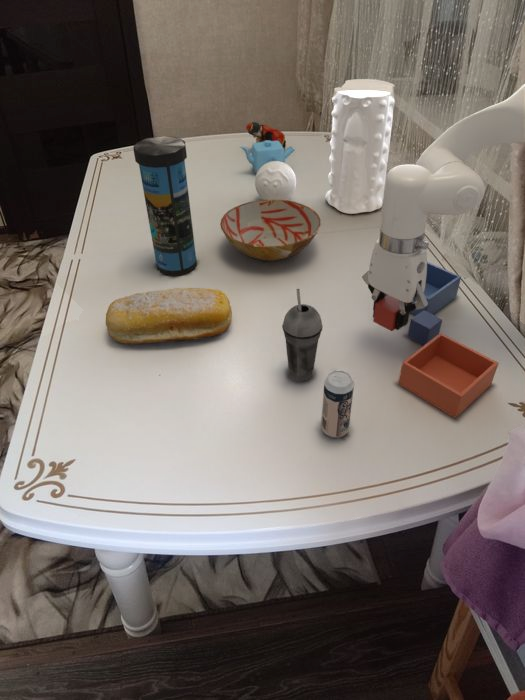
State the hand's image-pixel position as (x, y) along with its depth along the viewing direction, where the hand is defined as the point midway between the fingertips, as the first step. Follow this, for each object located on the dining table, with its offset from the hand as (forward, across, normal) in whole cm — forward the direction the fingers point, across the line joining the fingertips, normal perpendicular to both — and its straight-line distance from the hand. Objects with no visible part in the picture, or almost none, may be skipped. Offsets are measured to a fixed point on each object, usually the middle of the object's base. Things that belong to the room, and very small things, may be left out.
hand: (389, 319), depth 107 cm
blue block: (+7, -4, -8) cm, 11 cm away
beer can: (+6, -8, +24) cm, 26 cm away
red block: (0, 0, 0) cm, 0 cm away
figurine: (+7, +95, -56) cm, 110 cm away
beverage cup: (+6, +6, +18) cm, 21 cm away
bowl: (+6, +44, -10) cm, 46 cm away
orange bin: (+7, -15, +2) cm, 16 cm away
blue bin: (+7, +5, -18) cm, 20 cm away
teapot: (+6, +80, -42) cm, 91 cm away
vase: (+7, +46, -46) cm, 65 cm away
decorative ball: (+6, +63, -30) cm, 70 cm away
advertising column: (+6, +55, +12) cm, 57 cm away
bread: (+6, +35, +28) cm, 46 cm away
